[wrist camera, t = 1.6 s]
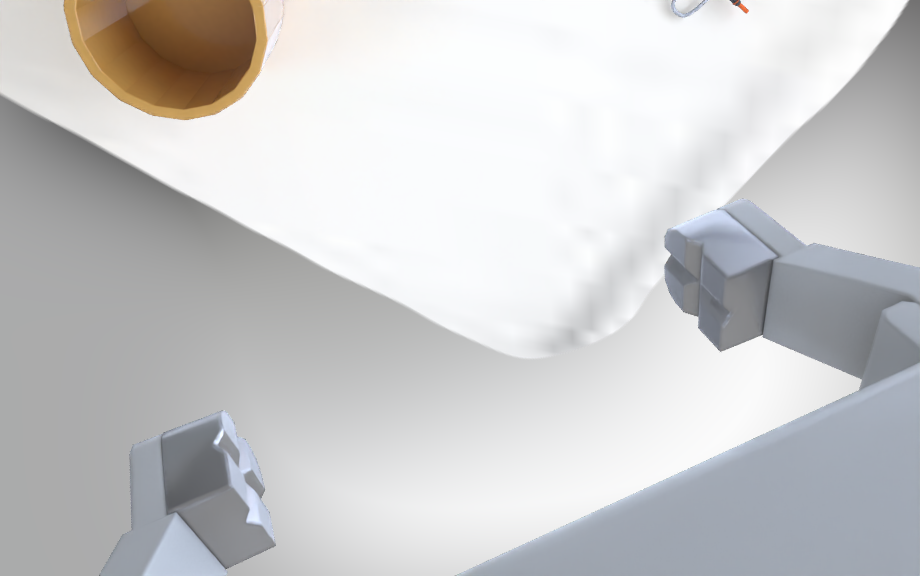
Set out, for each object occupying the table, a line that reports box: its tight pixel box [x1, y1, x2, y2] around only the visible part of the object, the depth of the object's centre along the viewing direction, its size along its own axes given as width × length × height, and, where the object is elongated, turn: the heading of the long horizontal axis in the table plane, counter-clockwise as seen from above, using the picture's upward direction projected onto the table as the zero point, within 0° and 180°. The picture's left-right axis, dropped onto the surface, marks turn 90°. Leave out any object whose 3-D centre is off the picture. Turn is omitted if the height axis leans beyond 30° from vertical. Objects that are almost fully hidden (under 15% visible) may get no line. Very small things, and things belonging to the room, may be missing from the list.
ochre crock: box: [64, 0, 284, 120], centre depth 42 cm, size 10×10×9 cm
